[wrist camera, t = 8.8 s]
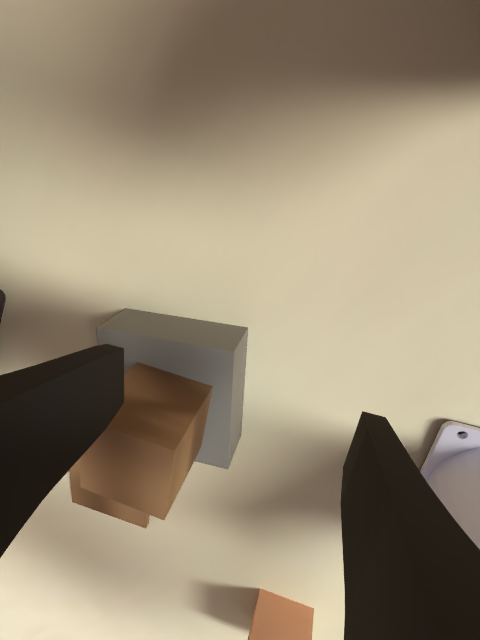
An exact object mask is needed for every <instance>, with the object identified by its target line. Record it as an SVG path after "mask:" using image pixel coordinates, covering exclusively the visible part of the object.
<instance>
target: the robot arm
mask: <svg viewBox="0 0 480 640" xmlns="http://www.w3.org/2000/svg"><path fill="white" fill-rule="evenodd" d="M123 403H124V348H121V347H117V346H114V345H110V344H103V345H98V346H95V347H91V348H88V349H85V350H81V351H78V352H75V353H72V354H69V355H66V356H63V357H60V358H57V359H54V360H51V361H47V362H44V363H41V364H38V365H35V366H31V367H28V368H25V369H21V370H18V371H14V372H11V373H7V374H4V375H0V558H1V556H2V555H3V553H4V552H5V551H6V549H7V548H8V546H9V545H10V543H11V542H12V541H13V539H14V538H15V536H16V535H17V534H18V532H19V531H20V530H21V528H22V527H23V526H24V524H25V523H26V522H27V520H28V519H29V518H30V516H31V515H32V514H33V512H34V511H35V510H36V508H37V507H38V506H39V504H40V503H41V502H42V500H43V499H44V498H45V497H46V496H47V494H48V493H49V492H50V491H51V490H52V488H53V487H54V486H55V485H56V484H57V483H58V482H59V481H60V479H61V478H62V477H63V476H64V475H65V474H66V473H67V472H68V471H69V470H70V468H71V467H72V466H73V465H74V464H75V463H76V462H77V461H78V460H79V459H80V457H81V456H82V455H83V454H84V453H85V452H86V451H87V450H88V449H89V447H90V446H91V445H92V444H93V443H94V442H95V441H96V440H97V438H98V437H99V436H100V435H101V434H102V433H103V432H104V430H105V429H106V428H107V427H108V425H109V424H110V422H111V421H112V420H113V418H114V417H115V415H116V414H117V412H118V411H119V409H120V408H121V406H122V405H123ZM460 431H465V433H464V434H457V433H458V432H460ZM341 519H342V541H343V562H344V582H345V627H344V640H480V428H478V427H474V426H470V425H466V424H462V423H458V422H455V421H448V422H445V423H443V424H442V426H441V428H440V430H439V432H438V434H437V436H436V438H435V441H434V443H433V445H432V447H431V449H430V451H429V453H428V455H427V458H426V460H425V462H424V464H423V466H422V468H421V470H420V471H419V470H418V468H417V467H416V465H415V464H414V462H413V460H412V459H411V457H410V456H409V454H408V453H407V451H406V449H405V448H404V446H403V445H402V443H401V441H400V440H399V438H398V437H397V435H396V433H395V432H394V430H393V428H392V427H391V425H390V424H389V422H388V420H387V419H386V417H382V416H378V415H374V414H371V413H367V412H363V411H362V414H361V417H360V420H359V423H358V426H357V429H356V431H355V434H354V437H353V440H352V443H351V446H350V449H349V452H348V455H347V458H346V461H345V464H344V466H343V478H342V492H341Z"/></svg>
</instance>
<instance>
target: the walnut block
mask: <svg viewBox="0 0 480 640" xmlns="http://www.w3.org/2000/svg"><path fill="white" fill-rule="evenodd" d="M212 388H213V386H210V385H207V384H204V383H201V382H198V381H195V380H191V379H188V378H185V377H182V376H179V375H176V374H173V373H170V372H167V371H164V370H161V369H158V368H154V367H151V366H148V365H145V364H142V363H139V362H137V363H136V364H135V365H134V366H133V367H132V368H131V369H130V370H129V371H128V372H127V373H126V374H125V375H124V403H123V405H122V406H121V408H120V409H119V411H118V412H117V414H116V415H115V417H114V418H113V420H112V421H111V422H110V424H109V425H108V427H107V428H106V429H105V430H104V432H103V433H102V434H101V435H100V436H99V437H98V438H97V440H96V441H95V442H94V443H93V444H92V445H91V446H90V447H89V449H88V450H87V451H86V452H85V453H84V454H83V455H82V456H81V457H80V487H81V488H84V489H86V490H89V491H91V492H94V493H96V494H99V495H101V496H104V497H106V498H109V499H111V500H114V501H117V502H119V503H122V504H124V505H127V506H129V507H132V508H134V509H137V510H139V511H142V512H145V513H147V514H150V515H152V516H155V517H157V518H160V519H162V520H165V518H166V516H167V514H168V512H169V510H170V508H171V506H172V504H173V502H174V500H175V498H176V496H177V494H178V492H179V490H180V488H181V486H182V484H183V482H184V480H185V478H186V476H187V474H188V472H189V470H190V468H191V466H192V464H193V462H194V460H195V458H196V456H197V454H198V452H199V450H200V448H201V445H202V440H203V435H204V430H205V424H206V419H207V414H208V409H209V404H210V398H211V393H212Z"/></svg>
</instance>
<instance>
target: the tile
mask: <svg viewBox="0 0 480 640" xmlns="http://www.w3.org/2000/svg"><path fill="white" fill-rule="evenodd" d="M70 481H71V493H72V502H74V503H77V504H79V505H82V506H85V507H88V508H91V509H93V510H96V511H99V512H102V513H104V514H107V515H110V516H113V517H116V518H118V519H121V520H124V521H127V522H129V523H132V524H135V525H138V526H141V527H143V528H146V527H147V525H148V523H149V514H147V513H145V512H142V511H139V510H137V509H134V508H132V507H129V506H127V505H124V504H122V503H119V502H117V501H114V500H111V499H109V498H106V497H104V496H101V495H99V494H96V493H94V492H91V491H89V490H86V489H84V488H81V487H80V459H79V460H78V461H77V462H76V463H75V464H74V465H73V466H72V467H71V468H70Z"/></svg>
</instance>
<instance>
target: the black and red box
mask: <svg viewBox="0 0 480 640" xmlns="http://www.w3.org/2000/svg"><path fill="white" fill-rule="evenodd" d="M5 299H6V297H5V294H4V293H3V291H1V290H0V322H1V317H2V313H3V309H4V304H5Z"/></svg>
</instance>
